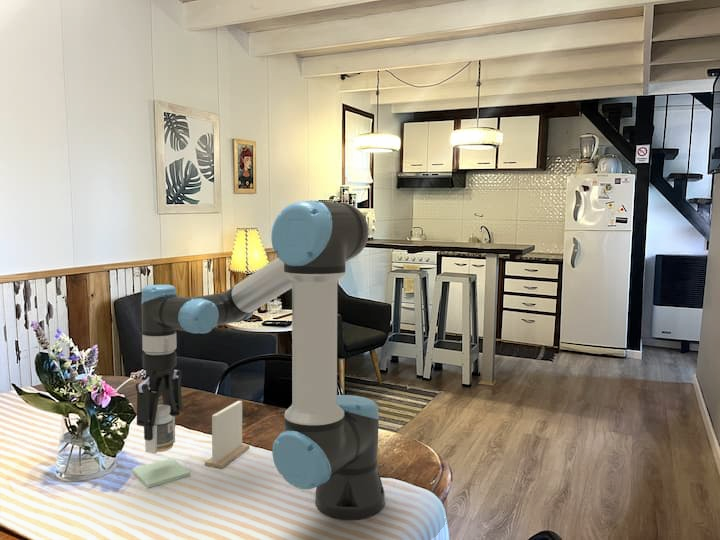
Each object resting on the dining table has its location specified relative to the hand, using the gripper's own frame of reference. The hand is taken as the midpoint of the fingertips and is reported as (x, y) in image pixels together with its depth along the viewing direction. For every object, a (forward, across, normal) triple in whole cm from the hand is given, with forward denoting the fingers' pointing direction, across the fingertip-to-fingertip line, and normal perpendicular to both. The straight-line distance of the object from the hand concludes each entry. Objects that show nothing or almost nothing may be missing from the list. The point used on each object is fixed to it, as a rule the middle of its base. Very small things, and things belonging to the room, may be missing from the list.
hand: (160, 446), depth 132 cm
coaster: (+7, 0, 0) cm, 7 cm away
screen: (+7, -14, +9) cm, 18 cm away
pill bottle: (+1, 0, 0) cm, 1 cm away
